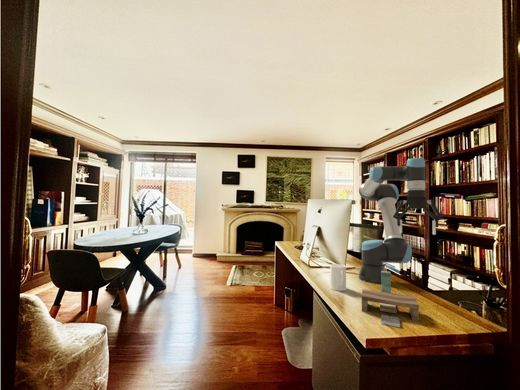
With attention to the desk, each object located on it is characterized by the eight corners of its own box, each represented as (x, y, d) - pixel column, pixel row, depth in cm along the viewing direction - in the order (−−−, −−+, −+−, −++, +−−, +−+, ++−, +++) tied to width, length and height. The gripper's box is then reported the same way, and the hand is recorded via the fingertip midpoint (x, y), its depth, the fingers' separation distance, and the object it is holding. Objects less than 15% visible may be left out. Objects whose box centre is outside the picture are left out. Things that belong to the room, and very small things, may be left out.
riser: (362, 302, 109) (362, 289, 109) (414, 311, 101) (414, 296, 101) (361, 311, 100) (361, 296, 100) (418, 321, 92) (418, 305, 92)
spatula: (379, 295, 119) (378, 270, 120) (393, 297, 116) (392, 271, 117) (380, 310, 101) (379, 281, 102) (396, 313, 98) (396, 283, 99)
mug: (350, 293, 121) (350, 269, 121) (333, 293, 121) (333, 268, 122) (344, 286, 132) (343, 263, 133) (328, 285, 133) (328, 263, 134)
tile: (381, 318, 95) (381, 314, 95) (399, 322, 92) (399, 317, 92) (381, 325, 89) (381, 320, 89) (399, 329, 86) (399, 324, 87)
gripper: (387, 189, 120) (388, 232, 119) (450, 188, 109) (451, 236, 108) (387, 190, 127) (387, 231, 125) (445, 190, 116) (446, 234, 115)
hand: (417, 233), depth 117 cm, fingers open, 13 cm apart
